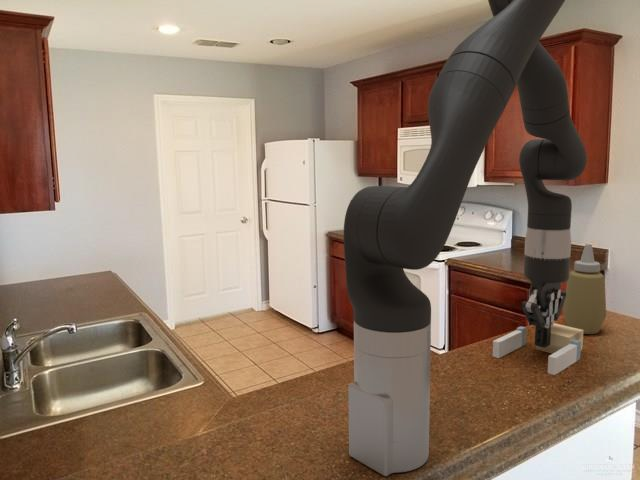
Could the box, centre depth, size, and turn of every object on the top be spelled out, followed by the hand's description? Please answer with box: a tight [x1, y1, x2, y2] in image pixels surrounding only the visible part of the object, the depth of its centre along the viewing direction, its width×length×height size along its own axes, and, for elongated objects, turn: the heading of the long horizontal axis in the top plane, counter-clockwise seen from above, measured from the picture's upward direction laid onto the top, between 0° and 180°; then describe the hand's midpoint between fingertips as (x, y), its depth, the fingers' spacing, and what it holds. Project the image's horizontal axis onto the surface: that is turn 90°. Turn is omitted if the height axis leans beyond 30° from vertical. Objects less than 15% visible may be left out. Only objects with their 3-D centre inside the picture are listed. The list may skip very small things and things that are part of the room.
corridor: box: [492, 325, 582, 376], centre depth 94 cm, size 10×11×3 cm
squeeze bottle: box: [562, 244, 607, 335], centre depth 107 cm, size 8×8×18 cm
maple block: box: [535, 322, 584, 354], centre depth 98 cm, size 6×6×4 cm
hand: (542, 345), depth 96 cm, fingers closed
